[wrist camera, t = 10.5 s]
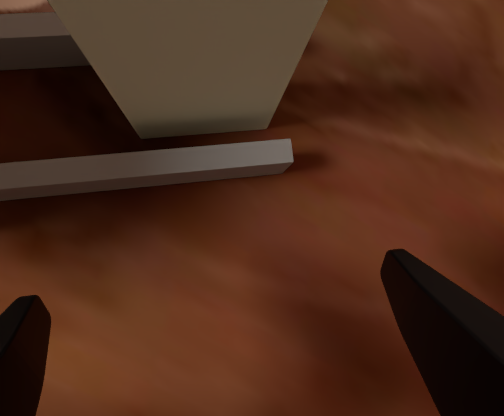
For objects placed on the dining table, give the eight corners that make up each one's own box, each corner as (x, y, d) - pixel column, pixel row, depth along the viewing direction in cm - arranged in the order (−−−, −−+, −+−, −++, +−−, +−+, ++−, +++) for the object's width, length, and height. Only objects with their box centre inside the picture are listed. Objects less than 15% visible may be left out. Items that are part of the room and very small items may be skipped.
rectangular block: (266, 128, 18) (413, -179, 5) (139, 139, 17) (-86, -190, 4) (260, 81, 18) (386, -333, 5) (135, 89, 17) (-93, -371, 4)
